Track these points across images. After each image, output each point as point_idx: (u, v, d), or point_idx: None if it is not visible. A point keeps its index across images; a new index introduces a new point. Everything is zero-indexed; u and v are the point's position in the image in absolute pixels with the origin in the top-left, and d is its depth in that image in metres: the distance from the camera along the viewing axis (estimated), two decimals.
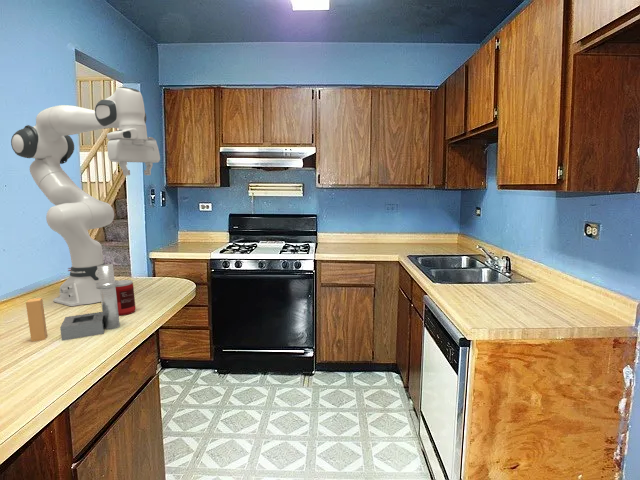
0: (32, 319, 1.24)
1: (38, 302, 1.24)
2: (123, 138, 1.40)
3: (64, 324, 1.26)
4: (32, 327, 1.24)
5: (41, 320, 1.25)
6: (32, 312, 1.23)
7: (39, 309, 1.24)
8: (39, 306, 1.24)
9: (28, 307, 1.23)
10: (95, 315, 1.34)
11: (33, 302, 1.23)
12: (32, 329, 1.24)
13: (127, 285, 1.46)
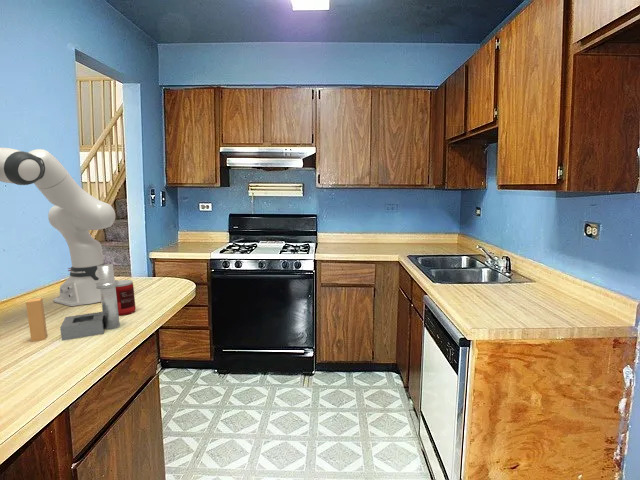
0: (32, 319, 1.24)
1: (38, 302, 1.24)
2: None
3: (64, 324, 1.26)
4: (32, 327, 1.24)
5: (41, 320, 1.25)
6: (32, 312, 1.23)
7: (39, 309, 1.24)
8: (39, 306, 1.24)
9: (28, 307, 1.23)
10: (95, 315, 1.34)
11: (33, 302, 1.23)
12: (32, 329, 1.24)
13: (127, 285, 1.46)
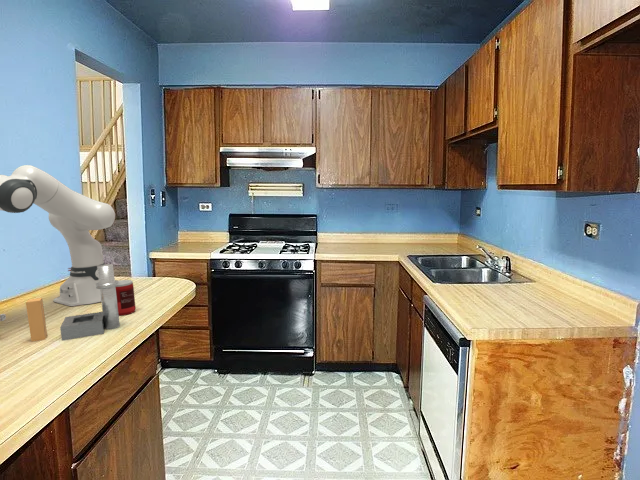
0: (32, 319, 1.24)
1: (38, 302, 1.24)
2: None
3: (64, 324, 1.26)
4: (32, 327, 1.24)
5: (41, 320, 1.25)
6: (32, 312, 1.23)
7: (39, 309, 1.24)
8: (39, 306, 1.24)
9: (28, 307, 1.23)
10: (95, 315, 1.34)
11: (33, 302, 1.23)
12: (32, 329, 1.24)
13: (127, 285, 1.46)
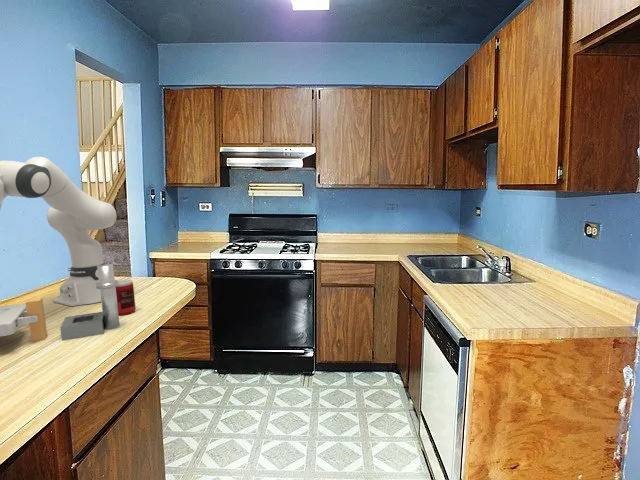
0: None
1: (38, 302, 1.24)
2: None
3: (64, 324, 1.26)
4: (32, 327, 1.24)
5: (41, 320, 1.25)
6: (32, 312, 1.23)
7: (39, 309, 1.24)
8: (39, 306, 1.24)
9: (28, 307, 1.23)
10: (95, 315, 1.34)
11: (33, 302, 1.23)
12: (32, 329, 1.24)
13: (127, 285, 1.46)
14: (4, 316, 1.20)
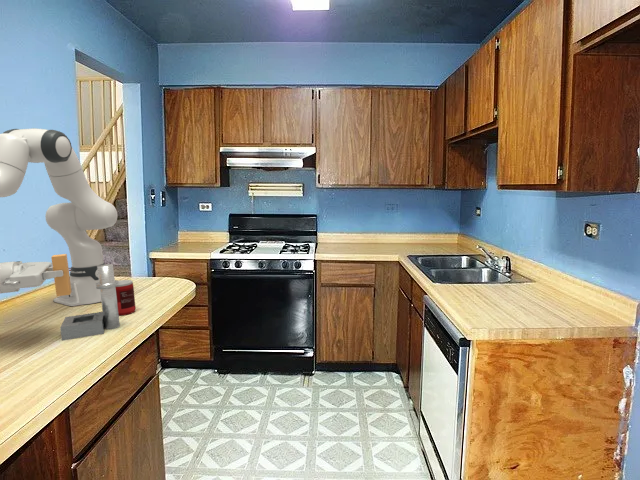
0: None
1: (63, 257, 1.25)
2: None
3: (64, 324, 1.26)
4: (57, 282, 1.25)
5: (66, 275, 1.26)
6: (57, 267, 1.25)
7: (64, 264, 1.25)
8: (64, 261, 1.25)
9: (53, 262, 1.24)
10: (95, 315, 1.34)
11: (58, 257, 1.25)
12: (57, 284, 1.25)
13: (127, 285, 1.46)
14: (30, 270, 1.22)
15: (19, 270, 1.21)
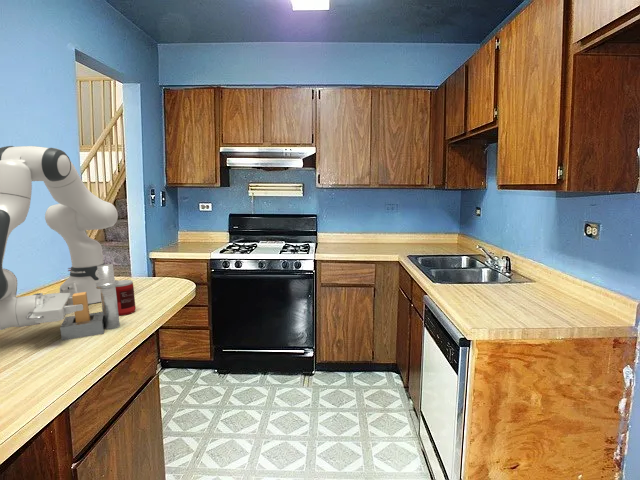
0: (78, 312, 1.28)
1: (83, 296, 1.29)
2: None
3: (64, 324, 1.26)
4: (78, 320, 1.29)
5: (86, 313, 1.29)
6: None
7: (84, 303, 1.29)
8: (84, 300, 1.29)
9: (74, 301, 1.28)
10: (95, 315, 1.34)
11: (79, 296, 1.28)
12: None
13: (127, 285, 1.46)
14: (52, 303, 1.25)
15: (41, 303, 1.24)
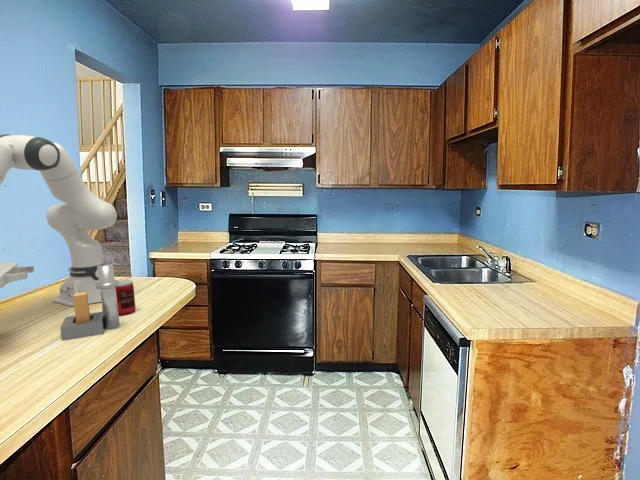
0: (78, 313, 1.29)
1: (84, 296, 1.29)
2: None
3: (64, 324, 1.26)
4: (78, 320, 1.29)
5: (87, 313, 1.29)
6: (78, 306, 1.28)
7: (85, 303, 1.29)
8: (85, 300, 1.29)
9: (75, 301, 1.28)
10: (95, 315, 1.34)
11: (79, 296, 1.28)
12: None
13: (127, 285, 1.46)
14: None
15: None
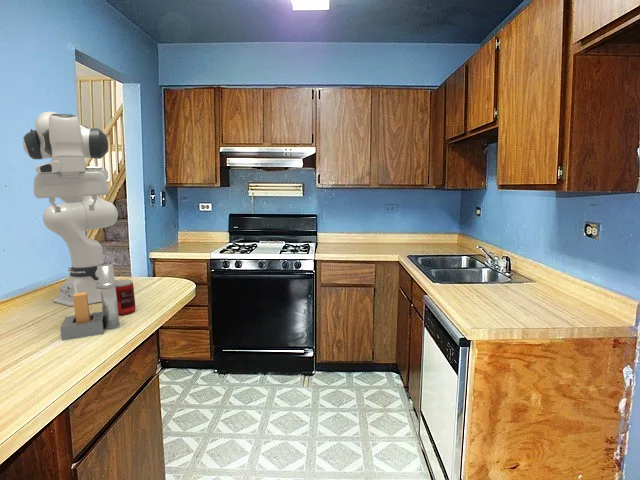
0: (78, 313, 1.29)
1: (84, 296, 1.29)
2: (41, 173, 1.25)
3: (64, 324, 1.26)
4: (78, 320, 1.29)
5: (87, 313, 1.29)
6: (78, 306, 1.28)
7: (85, 303, 1.29)
8: (85, 300, 1.29)
9: (75, 301, 1.28)
10: (95, 315, 1.34)
11: (79, 296, 1.28)
12: None
13: (127, 285, 1.46)
14: None
15: None
